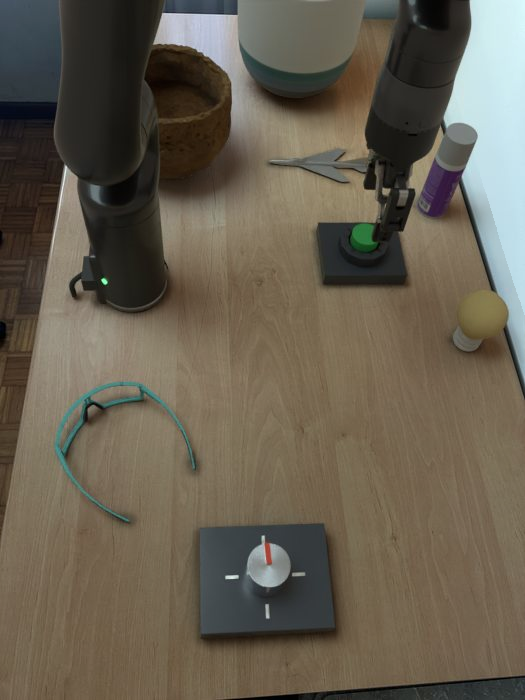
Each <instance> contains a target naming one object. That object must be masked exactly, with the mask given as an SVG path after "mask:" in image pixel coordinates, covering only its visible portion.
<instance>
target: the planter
mask: <svg viewBox="0 0 525 700" xmlns="http://www.w3.org/2000/svg"><path fill="white" fill-rule="evenodd" d="M366 4H367V0H237V39H238V47H239V52H240V56H241V59H242V62H243V64H244V67H245V69H246V71H247V72H248V73H249V75H250V77H252V79H253V80H254V81H255V82H256V83H257V84H259V85H260V86H261V87H262V88H263V89H265V90H267V91H268V92H270V93H272V94H274V95H277V96H281V97H283V98H290V99H303V98H308V97H313V96H316V95H318V94H320V93H323V92H324V91H326V90H328V89H329V88H331V87H332V86H334V85H335V83H337V82H338V81H339V79H341V77H342V76H343V74H344V73H345V71H346V69H347V68H348V66H349V64H350V62H351V59H352V57H353V54H354V51H355V48H356V45H357V41H358V37H359V34H360V30H361V25H362V22H363V18H364V14H365V13H364V12H365V9H366Z"/></svg>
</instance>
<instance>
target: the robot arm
mask: <svg viewBox="0 0 525 700" xmlns="http://www.w3.org/2000/svg"><path fill="white" fill-rule="evenodd" d="M166 1H167V0H58V8H59V9H58V11H59V28H60V38H61V43H60V44H61V69H60V80H59V89H58V97H57V105H56V112H55V119H54V125H53V141H54V145H55V148H56V151H57V154H58V155H59V158H60V159H61V161H62V163H63V164H64V165H65V166H66V168H67V169H68V170H69V171H70V172H71V173H72V174H73V175H74V176H75V177H77V180H76V191H77V196H78V197H77V198H78V201H79V205H80V208H81V213H82V217H83V221H84V226H85V230H86V234H87V239H88V242H89V250H88V255H83V258H82V265H81V266H82V268H81V271H80V272H79V273H77V274H76V275H74V277H73V278H71V280H70V281H69V282H68V283H69V284H68V288H69V291H70V295H71V297H72V298H76V297H77V296H78V294H77V291H76V284H77V283H78V282H79V281H80V282H81V287H82V290H83V291H84V292H96V297H97V300H98V303H99V304H107V305H108V306H109V307H111V308H112V309H114V310H117V311H120V312H125V313H139V312H144V311H146V310H150V309H151V308H153V307H154V306H156V305H157V304H158V303H160V302H161V301H162V299H163V298H164V296H165V294H166V292H167V288H168V278H167V272H168V273H169V272H170V271H169V270H170V269H169V266H168V264H167V261H166V260H165V252H164V241H163V240H164V239H163V229H162V218H161V217H162V216H161V206H160V196H159V195H160V194H159V185H160V183H159V181H160V178H159V175H160V145H159V125H158V113H157V106H156V102H155V99H154V96H153V93H152V91H151V89H150V88H149V86H148V84H147V83H146V82H145V80H144V77H145V71H146V67H147V63H148V60H149V57H150V53H151V50H152V47H153V45H154V43H155V41H156V37H157V35H158V31H159V28H160V27H159V26H160V23H161V20H162V17H163V13H164V10H165V6H166ZM471 32H472V10H471V0H398V8H397V13H396V17H395V20H394V23H393V26H392V29H391V33H390V37H389V41H388V45H387V49H386V53H385V57H384V61H383V63H382V66H381V67H380V70H379V73H378V76H377V79H376V82H375V87H374V90H373V95H372V98H371V103H370V106H369V111H368V116H367V118H366V123H365V126H364V138H365V139H364V140H365V141H366V144H365V146H366V149H367V150H368V155H367V156H366V157H367V161H368V163H367V166H366V168H367V171H366V172H365V176H364V179H363V183H362V185H363V189H364V190H365V191H374V200H375V201H376V202H378V203H377V205H378V206H377V215H376V219H375V222H374V223H375V225H374V228H373V232H372V235H371V237H372V241H373V242H380V243H388V242H389V241H390V239H391V236H392V234H393V231H395V232H398V233H404V232H405V228H406V225H407V222H408V218H409V216H410V213H411V209H412V206H413V204H414V202H415V197H416V193H417V192H416V189H415V188H414V187H409V186H410V179H411V177H413V170H414V164H415V163H416V162H418V161H419V160H422V159H423V158H425V157H426V156H427V155H428V154H430V153H431V151H432V149H433V148H434V145H435V142H436V139H437V136H438V134H439V131H440V128H441V125H442V123H443V120H444V117H445V115H446V112H447V109H448V107H449V104H450V101H451V97H452V96H453V95H452V94H453V92H454V86H455V82H456V77H457V75H458V71H459V69H460V66H461V63H462V60H463V57H464V55H465V52H466V49H467V46H468V44H469V40H470V36H471ZM383 189H385V190H386V189H387V190H389V192H388V193H387V194H384V193H383ZM166 270H167V271H166Z"/></svg>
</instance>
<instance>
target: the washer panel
mask: <svg viewBox="0 0 525 700" xmlns="http://www.w3.org/2000/svg"><path fill="white" fill-rule="evenodd" d="M264 543H273V544H276V545H278V546H280V547H282V548H283V549H284V550H285V551H286V553H287V554H288V556H289V558H290V563H291V569H290V573H289V576H288V578H287V580H286V582H285V584H284V586H283V588H282V590H281V591H280V592H279V593H277V594H276V595H274V596H271V597H260V596H258V595H256V594H254V593H253V592H252V591H251V590H250V589H249V588H248V586H247V584H246V580H245V571H246V567H247V562H248V558H249V555H250V554H251V552H252V551H253V550H254V549H255V548H256V547H257V546H259V545H261V544H264ZM328 555H329V554H328V545H327V536H326V528H325V522H319V523H318V522H317V523H294V524H267V525H265V524H262V525H239V526H238V525H237V526H214V527H213V526H211V527H208V526H207V527H199V604H200V605H199V606H200V607H199V609H200V610H199V611H200V615H199V616H200V617H199V618H200V639H217V638H218V639H220V638H238V637H240V638H241V637H257V636H258V637H259V636H278V635H294V634H295V635H296V634H315V633H331V632H332V631H333V630H334V629H336V622H335V621H336V620H335V612H334V603H333V593H332V583H331V573H330V564H329V556H328Z"/></svg>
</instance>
